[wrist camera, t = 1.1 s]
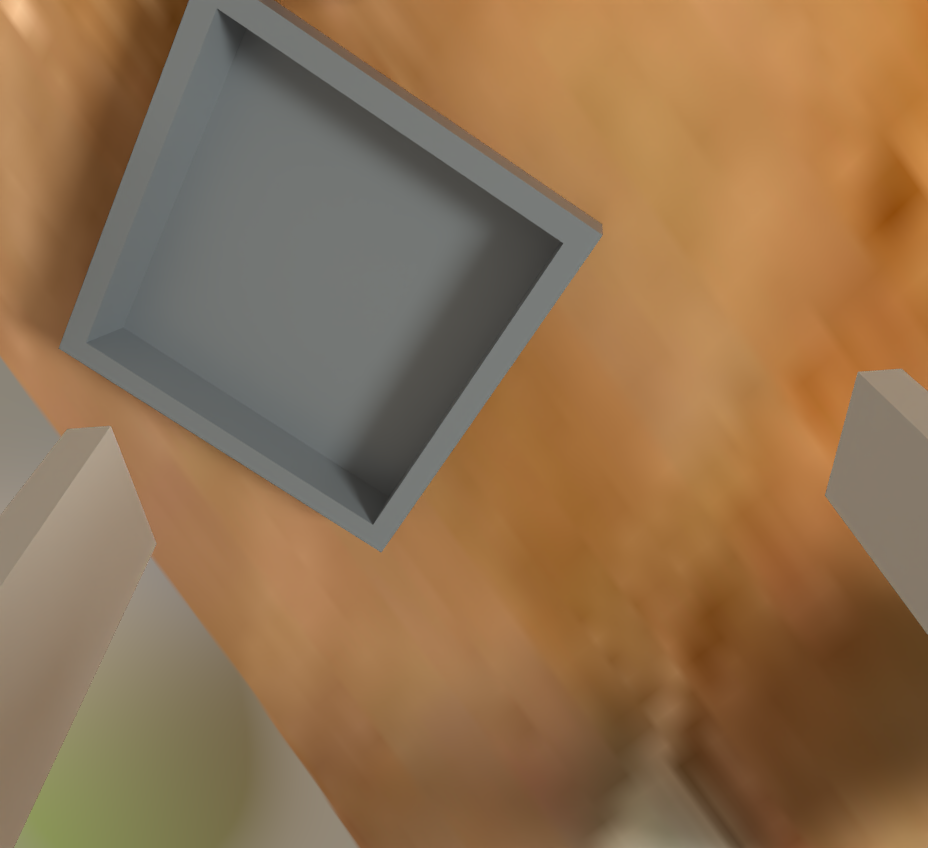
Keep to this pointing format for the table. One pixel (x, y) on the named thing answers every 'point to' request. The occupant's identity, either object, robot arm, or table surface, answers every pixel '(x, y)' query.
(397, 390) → the tray
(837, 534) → the table surface
